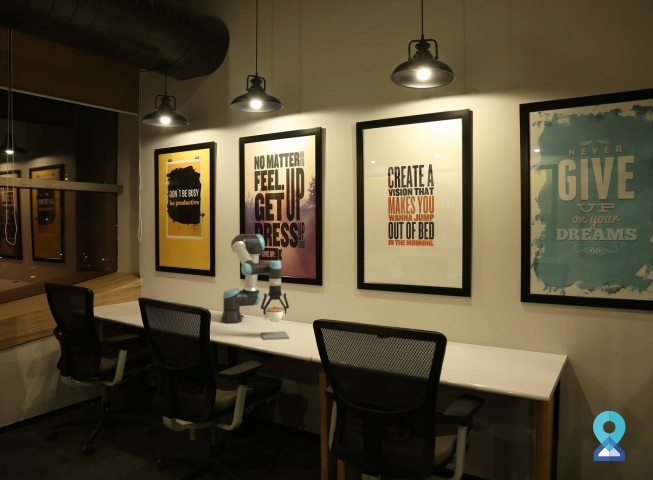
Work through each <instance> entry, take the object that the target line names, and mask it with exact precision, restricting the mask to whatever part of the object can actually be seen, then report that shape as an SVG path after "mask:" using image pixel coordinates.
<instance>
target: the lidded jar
mask: <svg viewBox="0 0 653 480" xmlns="http://www.w3.org/2000/svg"><path fill="white" fill-rule="evenodd" d="M266 309H267V320H268V321H270V322H272V323H278V322H280V321H281V320H283V309H284V307H278V306H276V305H274V306H273V307H267V308H266Z"/></svg>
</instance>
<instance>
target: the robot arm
mask: <svg viewBox="0 0 653 480" xmlns="http://www.w3.org/2000/svg"><path fill="white" fill-rule="evenodd" d="M265 245H266V244H265V239H264V237H263V235H262V234H259V233H257V234H256V233H251V234H250V233H245V234H244V233H241V234H238V235H235V237H233V239H231V242H230V249H231V250H232V252H233V253H234V254H236V256H237V258H238V260H239V261H240V263H241V274H242V275H243V276H245V279H244V286H242V290H241V289H240V288H238V287H237V288H230V289H226V290H224V291H223V295H222V296H223V297H222V300H223V303H222V304H223V309H222V310H223V311H222V314H221V317H220V322H221V323H222V324H237V323H241V322H243V316H242V313H241V311H240V309H241V307H253V306H257V305H259V303H260V301H261V298H262V295H261V294H262V293H261V290H260V289H259V287H258V276H260V275H268V278H269V279H268V280H269V281H268V283H269V287H268V289H269V290H268V292H267V293H264V294H263V299H262V302H261V305H260V309H261V310H263V315H264V320H265V321H267V320H268V317H267V308H268V306H269V305H270V303H271V302H272V300H273V301H275V300H276V301H277V300H279V303H280V304H281V306H282V308H283V317H282V320H285V318H286V316H285V315H286V314H287V309H289V308H290V305H289V301H288V299H287V293H286V292H282V286H281V285H282V262H281V260H270V261H269V262H268V261H267V262H259V260H260V258H259V257H260V255H261V254H262V251H264V250H265V247H266V246H265ZM268 296H269V299H268V300H267V297H268ZM281 296H282V297H283V300H284V302H283V300H282V299H281ZM265 303H266V304H265Z"/></svg>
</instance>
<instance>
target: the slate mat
mask: <svg viewBox="0 0 653 480" xmlns="http://www.w3.org/2000/svg"><path fill="white" fill-rule="evenodd" d="M260 335H261V337H262V339H263V341H269V340H270V341H271V340H272V341H273V340H289V339H290V336H289V335H288V334H287V332H286V331H282V330H281V331H265V332H264V331H262V332H260Z"/></svg>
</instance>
